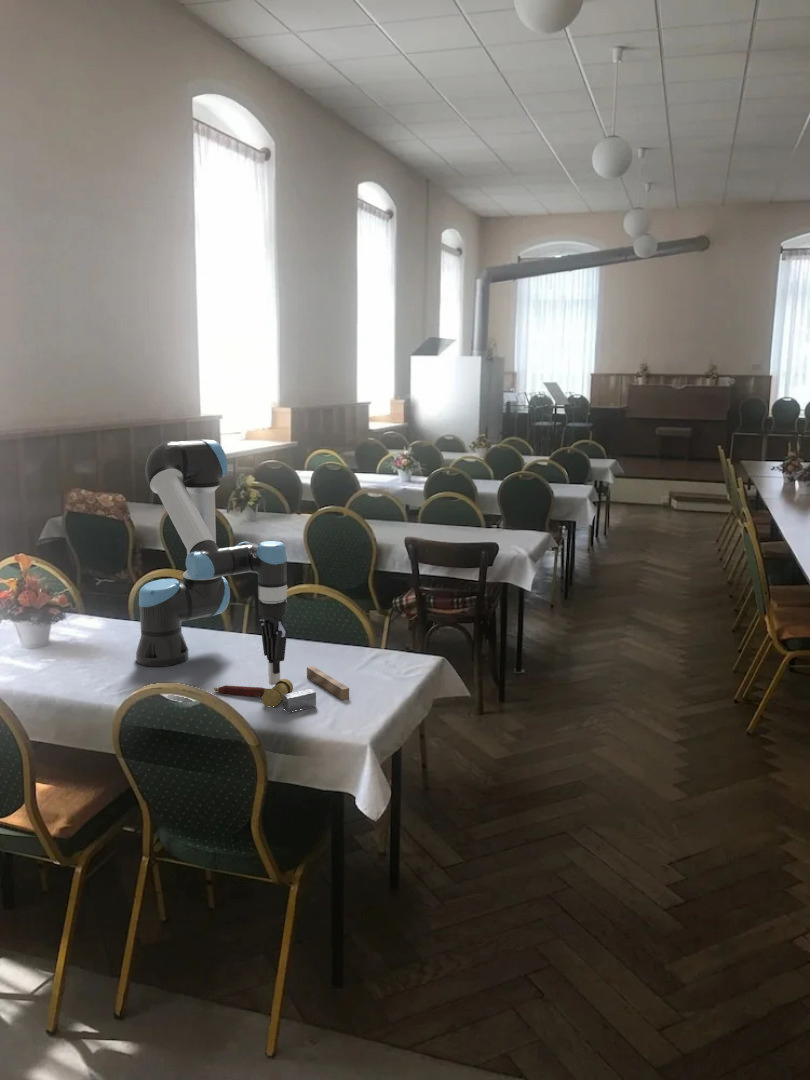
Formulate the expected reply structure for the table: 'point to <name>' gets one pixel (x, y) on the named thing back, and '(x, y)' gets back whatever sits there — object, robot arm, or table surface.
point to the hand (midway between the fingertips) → (274, 683)
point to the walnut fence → (328, 683)
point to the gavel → (260, 692)
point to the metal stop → (299, 700)
